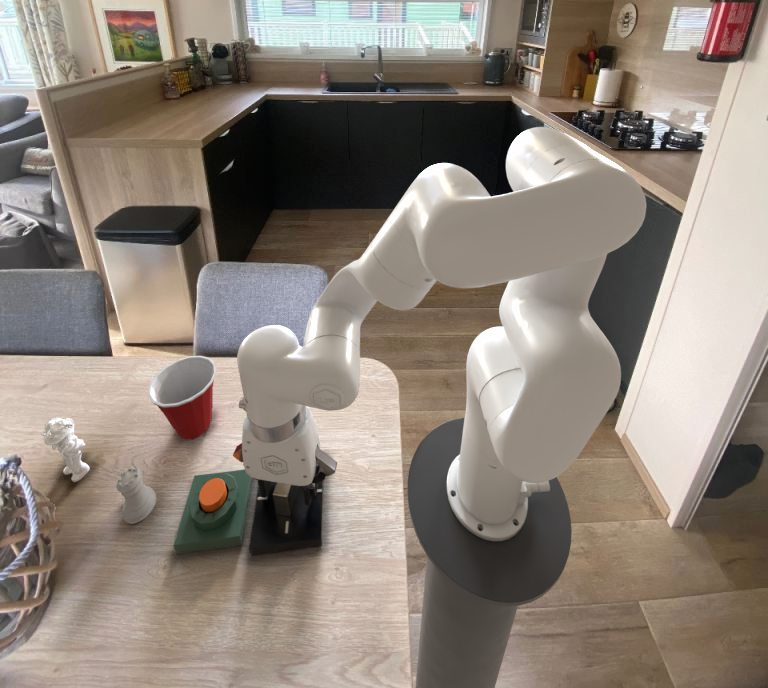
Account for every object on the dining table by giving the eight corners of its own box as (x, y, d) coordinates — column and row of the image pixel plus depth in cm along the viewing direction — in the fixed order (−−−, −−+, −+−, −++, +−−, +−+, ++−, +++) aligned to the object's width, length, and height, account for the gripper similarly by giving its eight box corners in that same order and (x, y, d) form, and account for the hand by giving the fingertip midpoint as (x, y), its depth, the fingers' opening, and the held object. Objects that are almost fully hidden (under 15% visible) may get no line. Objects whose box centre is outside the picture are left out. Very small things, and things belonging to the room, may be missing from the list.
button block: (253, 476, 64) (250, 461, 63) (242, 544, 56) (238, 529, 54) (196, 483, 63) (192, 468, 62) (176, 554, 55) (170, 538, 53)
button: (229, 483, 60) (227, 476, 59) (223, 510, 57) (221, 503, 56) (205, 486, 60) (203, 479, 59) (197, 514, 56) (195, 507, 56)
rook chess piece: (118, 528, 58) (103, 495, 55) (131, 494, 62) (118, 462, 59) (150, 522, 58) (137, 490, 55) (161, 489, 62) (150, 457, 59)
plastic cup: (228, 391, 78) (219, 346, 74) (223, 444, 69) (212, 396, 64) (169, 404, 76) (155, 359, 71) (155, 461, 66) (138, 413, 62)
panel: (324, 458, 67) (323, 450, 66) (322, 546, 56) (321, 537, 55) (264, 465, 66) (263, 457, 65) (250, 556, 55) (248, 548, 54)
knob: (290, 517, 57) (287, 495, 55) (276, 514, 58) (272, 493, 56) (302, 476, 62) (300, 455, 60) (289, 474, 63) (286, 453, 61)
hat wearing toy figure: (104, 473, 64) (83, 424, 60) (77, 496, 61) (53, 447, 57) (76, 445, 69) (54, 398, 64) (50, 466, 65) (25, 418, 61)
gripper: (202, 428, 50) (223, 509, 57) (332, 448, 48) (338, 530, 55) (231, 378, 57) (247, 456, 64) (346, 393, 55) (349, 473, 62)
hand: (289, 490), depth 59 cm, fingers open, 6 cm apart
